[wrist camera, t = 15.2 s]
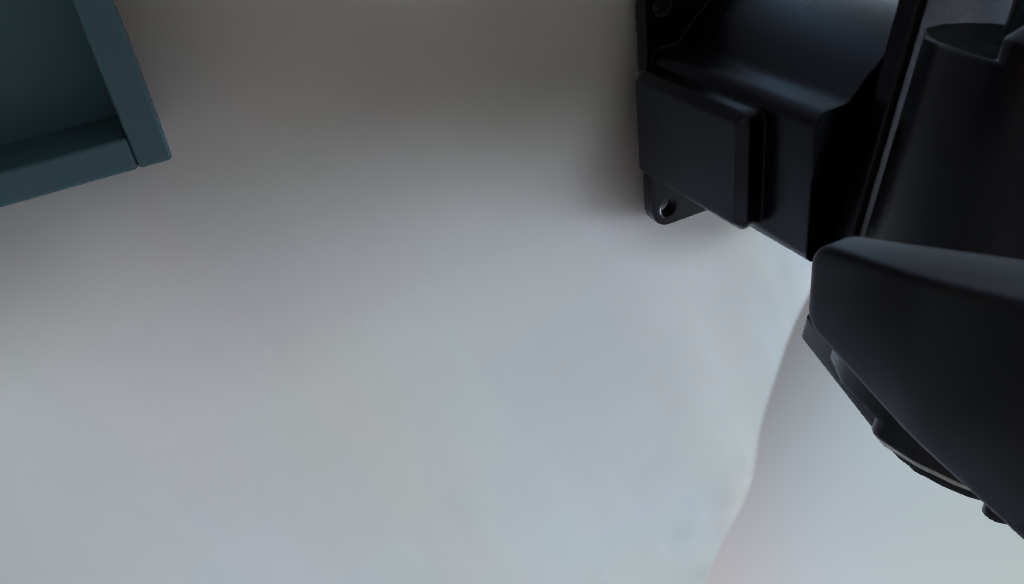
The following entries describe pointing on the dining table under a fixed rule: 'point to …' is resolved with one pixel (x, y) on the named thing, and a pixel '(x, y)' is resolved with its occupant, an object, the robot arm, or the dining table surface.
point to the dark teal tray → (70, 98)
